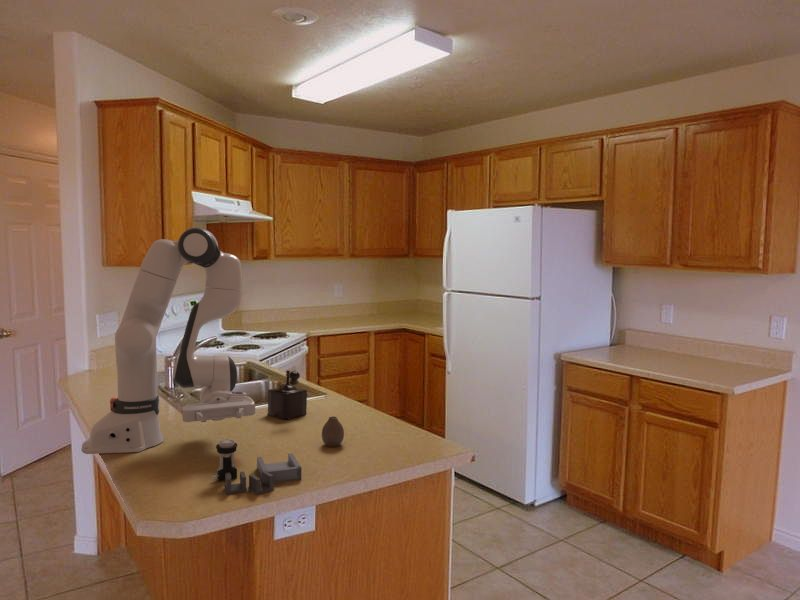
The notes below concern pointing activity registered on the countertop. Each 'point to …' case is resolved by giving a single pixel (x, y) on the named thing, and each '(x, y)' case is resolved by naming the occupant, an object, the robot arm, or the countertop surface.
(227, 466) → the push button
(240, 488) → the clip
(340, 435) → the vase
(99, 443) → the robot arm
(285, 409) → the black box with knob
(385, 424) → the countertop surface
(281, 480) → the end holder
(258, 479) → the clip
